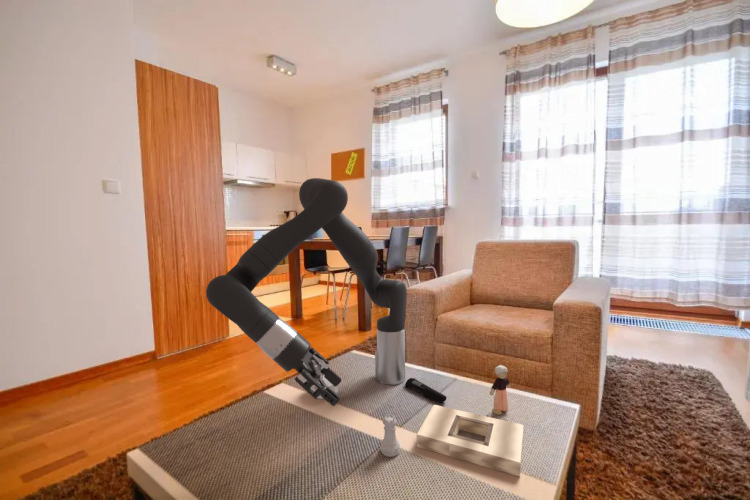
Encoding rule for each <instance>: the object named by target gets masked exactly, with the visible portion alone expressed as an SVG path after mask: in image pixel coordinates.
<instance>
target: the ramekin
mask: <svg viewBox="0 0 750 500" xmlns="http://www.w3.org/2000/svg"><path fill="white" fill-rule="evenodd" d="M323 380H324V382H325V383H326V385H327V387H329V388H330V389H331V390H333V391H334V392H335V393H336V394H337V395H338V392H339V384H338V385H337V386H334V385H332V384H331V383H330V382H329V381H328V380H327V379H326V378H325V377H324V376H323ZM311 389H312V388H311ZM312 390H313V389H312ZM313 391H314V390H313ZM316 399H318V400H325V399H324V398H323V397H321V396H318V397H317V398H316Z"/></svg>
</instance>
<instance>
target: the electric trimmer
mask: <svg viewBox="0 0 750 500" xmlns="http://www.w3.org/2000/svg"><path fill="white" fill-rule="evenodd" d="M404 386H405V388H410V389H412V390H413V391H416V392H417V393H420V394H422V396H423V397H424V398H426V399H429V400H431V401H434V402H437V403H438V404H443V403H444V402H446V401H447V396H446V395H445V394H443V393H441V392H439V391H437V390H436V389H433V388H432V387H430V386H428V385H427V384H425V383H424V382H421V381H419V380H417V378H415V377H410V378H408V379H407V380H406V381H405V384H404Z"/></svg>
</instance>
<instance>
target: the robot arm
mask: <svg viewBox="0 0 750 500" xmlns="http://www.w3.org/2000/svg"><path fill="white" fill-rule="evenodd" d="M298 193H299V195H298V196H299V202H300V204H301V206H302V208H303V210H301V212H299V213H298V214H297V215H295V216H293V218H291V219H290V220H288V221H286V222H284V223H282V224H280V225H278V226H277V227H275V228H273V229H271V230H269V231H268V232H267V233H265V234H263V235H262V236H261V237H260V238H259V239H257V241H256V242H254V243H253V244H252V245H251V246H249V248H247V250H246V251H245V252H244V253H243V254H241V256H240V258H239V259H238V261H237V262H236V264H235V265H234V266H233V267H232V268H231V269H230V270H228V272H226V273H225V274H222V275H218V276H216V277H214V278H212V280H210V281H209V283H208V284H207V286H206V289H205V294H206V295H205V296H206V299H207V301H208V303H209V304H210V305H211V306H212V307H213V308H215V309H216V310H217V311H219V313H221V314H222V315H224V316H225V317H226V318H227V319H228V320H230V321H231V322H233V323H234V324H235V325H237V326H238V328H239V329H240V330H241V331H242V332H243V333H244V334H245V335H246V336H247V337H248V338H250V340H251V341H253V343H256V345H257V346H258V347H259V348H260V349H261V351H262V352H264V354H265V355H267V356H268V357H269V358H271V360H273V361H274V362H275V363H276V364H277V365H279V366H280V367H281V368H282V369H283V370H284V371H285V372H291V371H292V370H295V371H296V372H297V374H298V375H297V376H295V378H294V381H295V382H296V383H297V384H298V385H299V386H300V387H302V389H304V391H306V392H307V393H308V394H309V395H310V397H312V398H313V399H315V400H316V399H318V398H317V397H318V396H321V397H323V398H324V399H323V400H325V401H326V402H327V403H328V404H329V405H330V406H332V407H335V406H336V405H337V404H338V403H339V402H340V399H341V397H340V396H339V395H338V393H337V394H336V393H335V392H334V391H333V390H331V389H330V388H329V387H327V385H326V383H325V382H324V380H323V376H324V377H325V378H326V379H327V380H328V381H329V382H330V383H331V384H332V385H334V386H337V385H338V386H339V385H340V384H341V382H342V378H341V377H340V376H339V375H338V374H337V373H336V372H335V371H333V370H332V369H331V366H330V361H329V360H328V359H326V358H325V357H324V356H323V355H322V354H320V352H318V351H317V350H316V349H315V348H314V347H312V346H311V345H312V344H311V343H310V341H308V340H307V339H306V338H305V337H304V336H303V335H301V334H300V333H299V332H298V331H297V330H296V329H295V328H294V327H292V326H291V325H290V324H289V323H288V322H286V321H285V320H283V319H282V318H281V317H279V315H277V313H275V312H274V311H273V310H272V309H271V308H269V307H268V306H267V305H265V304H264V303H262V302H261V301H260V300H259V299H258V298H257V296H255V294H254V293H252V291H253V290H254V289H255V288H257V286H258V285H259V283H260V282H262V281H263V280H264V279H265V278H267V276H268V275H269V274H271V272H272V271H274V270H275V268H277V267H278V265H280V264H281V262H282V261H283V260H284V259H285V258H287V256H289V255H290V254H291V253H292V252H293V251H294V250H295V249H297V247H299V246H300V245H301V244H302V243H304V242H305V241H306V240H308V239H309V238H310V237H311V236H313V235H314V234H316V233H317V232H318V231H319V230H323V231H324V232H325V234H326V236H327V237H328V238H329V240H330V241H331V243H332V244H333V245H334V247H335V249H337V251H338V252H339V253H340V255H341V257H342V258H343V260H344V261H345V262H346V264H347V265H348V266H349V268H350V269H351V270H352V271H353V272H354V274H355V275H356V277H357V278H358V280H359V281H360V282H361V284H362V286H363V288H364V290H365V292H367V295H368V297H369V298H370V300H371V302H372V303H373V304H374V305H375V306H377V307H381V308H385V309H386V308H387V309H389V315H385V316H382V317H379V318H378V319H377V320H376V346H377V347H376V350H375V352H374V374H375V375H374V376H375V377H374V379H375V380H376V381H378V382H380V383H381V384H384V385H392V386H393V385H400V384H402V383H404V381H405V380H406V333H405V332H406V331H405V330H406V328H405V325H406V320H407V319H406V318H407V299H408V295H407V291H408V290H407V287H406V284H405V283H404V281H401V280H396V279H385V278H383V277H381V276H380V274H379V273H378V271H377V267H378V260H379V254H378V251H377V249H376V248H375V246H374V245H373V242H372V241H371V239H370V238H369V237H368V235H367V234H366V233H365V232H364V231H363V230H362V229H361V228H360V227H359V226H357V225H356V224H355V223H354V222H353V221H351V220H350V219H349V218H348V217H347V216H346V215H345V214H344V213H343V212H344V210H345V209H346V207H347V204H348V199H349V196H348V195H349V194H348V191H347V188H346V187H345V186H344V185H343V184H342V183H341V182H339V181H335V180H332V179H328V178H327V179H325V178H320V177H319V178H318V177H313V178H309V179H306V180H305V181H304V182H302V184H301V186H300V187H299V191H298ZM311 388H312V389H313V390H314V391H313V390H312V389H311Z"/></svg>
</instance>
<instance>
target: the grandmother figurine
mask: <svg viewBox="0 0 750 500" xmlns="http://www.w3.org/2000/svg"><path fill="white" fill-rule="evenodd" d="M508 371H509V370H508V368H507V367H506V366H505V365H502V364H499V365H498V366H495V368H494V372H495V374H496V376H497V378H495V380H494V382H493V383H492V386H491V389H490V392H489V395H490V396H494V397H493V408H492V412H493V414H495V415H497V416H498V415H499V416H501V415H503V413H506V412H508V411H509V402H508V393H507V392H508V391H507V389H510V388H511V387H512V386H511V382H510V380H509V379H508V378H507V373H508Z"/></svg>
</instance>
